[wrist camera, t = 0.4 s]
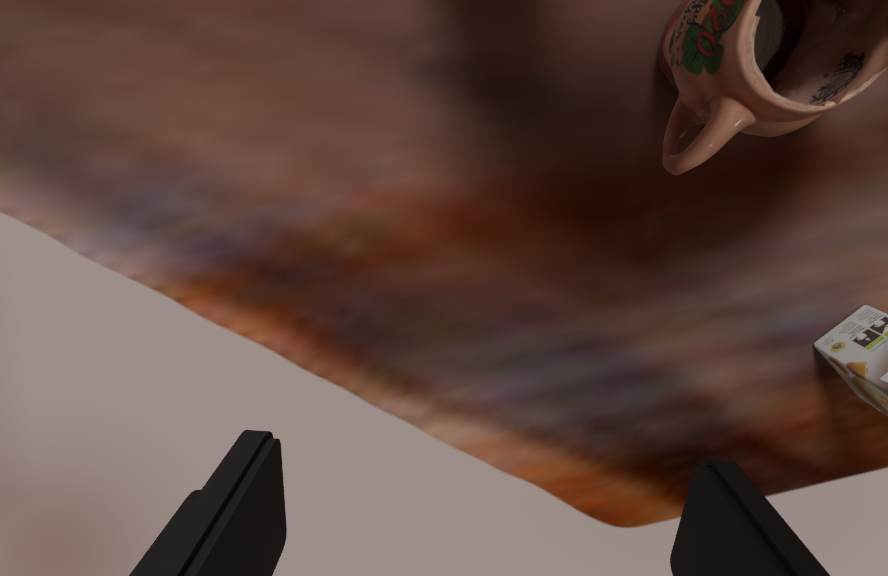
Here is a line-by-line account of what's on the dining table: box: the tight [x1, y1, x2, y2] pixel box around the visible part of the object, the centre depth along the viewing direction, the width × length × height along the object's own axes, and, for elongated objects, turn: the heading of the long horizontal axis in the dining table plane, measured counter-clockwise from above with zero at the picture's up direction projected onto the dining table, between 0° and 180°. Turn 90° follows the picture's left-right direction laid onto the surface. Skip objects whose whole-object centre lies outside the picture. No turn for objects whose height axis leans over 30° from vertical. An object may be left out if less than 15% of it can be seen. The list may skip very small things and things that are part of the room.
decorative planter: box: [658, 0, 888, 176], centre depth 34 cm, size 20×12×14 cm, turn 153°
